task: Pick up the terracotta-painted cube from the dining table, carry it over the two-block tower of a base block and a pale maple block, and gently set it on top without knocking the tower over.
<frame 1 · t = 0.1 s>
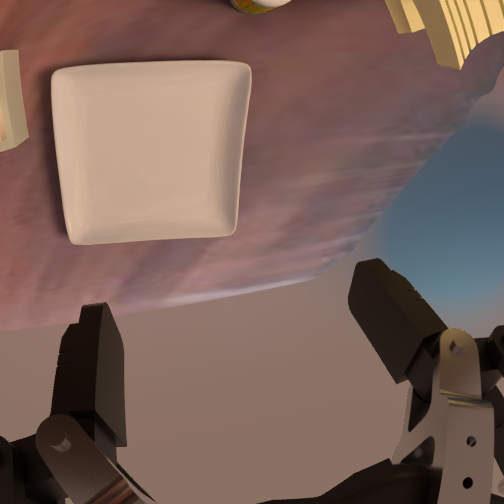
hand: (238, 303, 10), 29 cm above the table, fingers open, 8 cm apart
salad plate: (148, 148, 34), on the table
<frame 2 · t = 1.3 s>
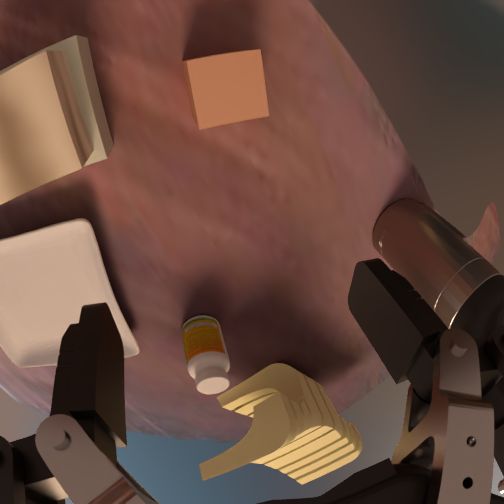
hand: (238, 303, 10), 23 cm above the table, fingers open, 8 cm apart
supplement bottle: (200, 326, 43), on the table
top block: (31, 121, 20), point 4 cm above the table, touching base block
slatted curved stool: (269, 386, 57), on the table
cube: (216, 82, 26), on the table
base block: (48, 111, 23), on the table, touching top block
salad plate: (45, 292, 34), on the table
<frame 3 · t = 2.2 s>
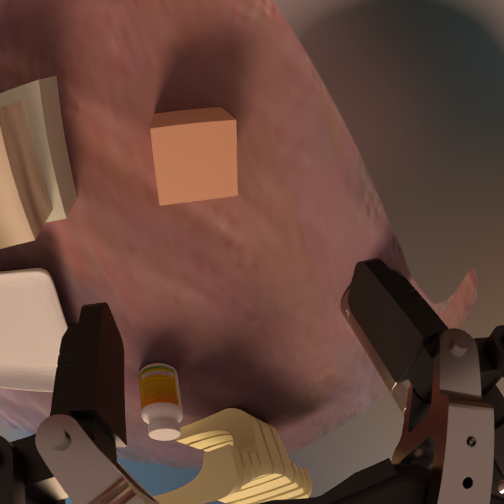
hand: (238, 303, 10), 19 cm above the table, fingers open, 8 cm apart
supplement bottle: (158, 371, 41), on the table
slatted curved stool: (225, 426, 55), on the table
cube: (189, 141, 25), on the table
base block: (14, 151, 21), on the table, touching top block
salad plate: (9, 323, 31), on the table
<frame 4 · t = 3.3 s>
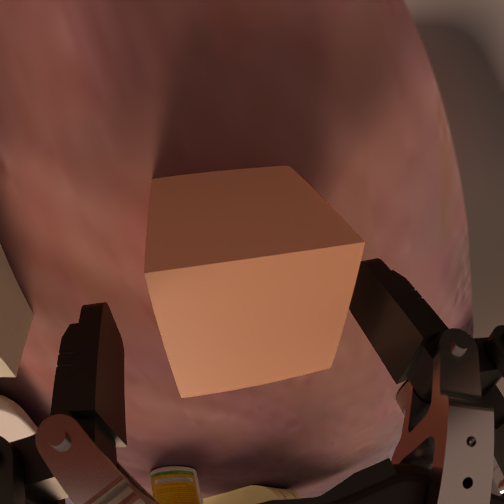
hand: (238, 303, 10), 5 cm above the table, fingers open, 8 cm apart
supplement bottle: (172, 470, 29), on the table
slatted curved stool: (244, 494, 43), on the table
cube: (224, 230, 14), on the table
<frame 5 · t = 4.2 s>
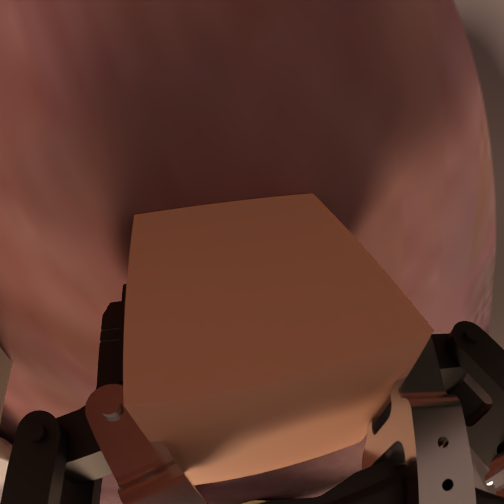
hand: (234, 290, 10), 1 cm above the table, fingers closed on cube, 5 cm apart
cube: (230, 274, 11), on the table, touching gripper
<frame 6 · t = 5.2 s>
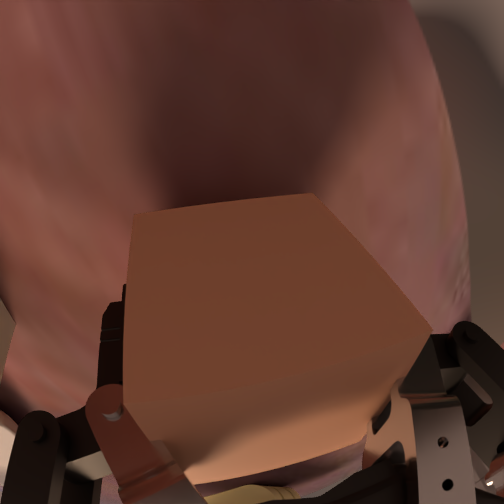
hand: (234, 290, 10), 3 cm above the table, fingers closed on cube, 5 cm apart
slatted curved stool: (241, 493, 43), on the table
cube: (229, 274, 11), point 2 cm above the table, touching gripper
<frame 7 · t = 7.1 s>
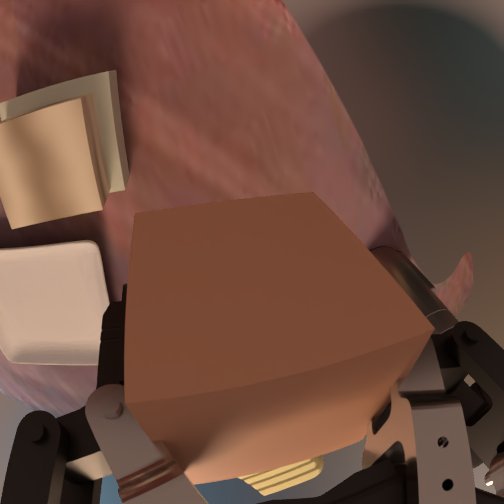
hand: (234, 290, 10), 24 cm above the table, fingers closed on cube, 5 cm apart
top block: (56, 152, 23), point 4 cm above the table
slatted curved stool: (241, 402, 60), on the table
cube: (230, 273, 11), point 23 cm above the table, touching gripper
base block: (71, 133, 27), on the table
salad plate: (45, 298, 36), on the table
when the fingers open (10 cm above the table, at t = 12.5 s): cube moves 2 cm, point 9 cm above the table.
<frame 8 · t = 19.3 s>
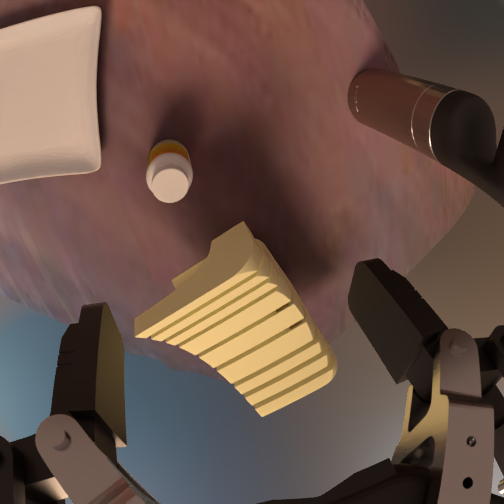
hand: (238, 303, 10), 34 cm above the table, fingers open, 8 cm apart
supplement bottle: (168, 157, 40), on the table
slatted curved stool: (232, 278, 54), on the table
salad plate: (30, 97, 30), on the table
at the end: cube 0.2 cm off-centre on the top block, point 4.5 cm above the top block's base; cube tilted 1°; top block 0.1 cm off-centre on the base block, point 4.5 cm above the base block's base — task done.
